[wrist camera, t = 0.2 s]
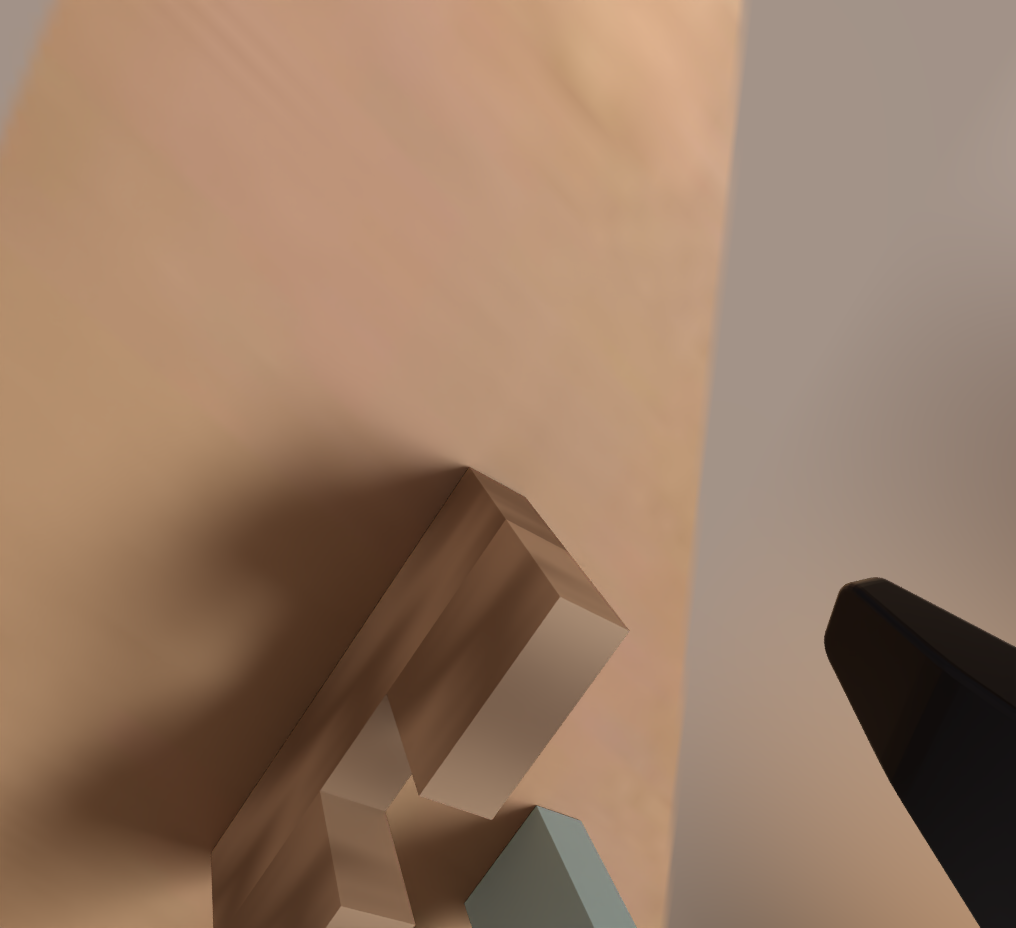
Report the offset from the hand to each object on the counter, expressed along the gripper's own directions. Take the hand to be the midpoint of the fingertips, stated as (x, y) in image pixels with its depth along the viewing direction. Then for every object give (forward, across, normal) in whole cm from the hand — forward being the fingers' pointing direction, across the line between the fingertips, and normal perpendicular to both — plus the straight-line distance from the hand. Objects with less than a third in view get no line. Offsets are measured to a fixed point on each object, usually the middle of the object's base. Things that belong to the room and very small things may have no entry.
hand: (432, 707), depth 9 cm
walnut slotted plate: (+12, -1, +14) cm, 19 cm away
